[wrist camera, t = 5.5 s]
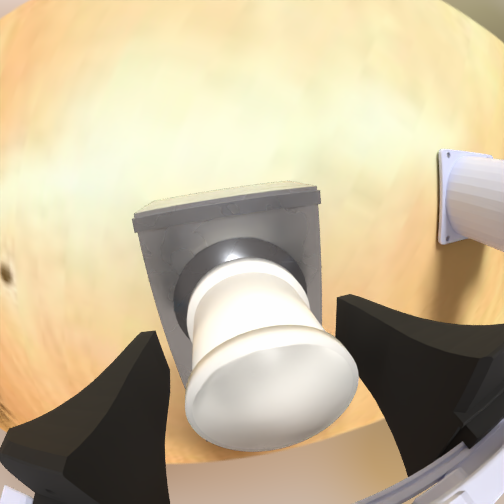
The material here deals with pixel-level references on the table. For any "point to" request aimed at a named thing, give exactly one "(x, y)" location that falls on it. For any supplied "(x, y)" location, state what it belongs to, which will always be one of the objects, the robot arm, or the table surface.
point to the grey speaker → (226, 245)
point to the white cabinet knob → (261, 360)
